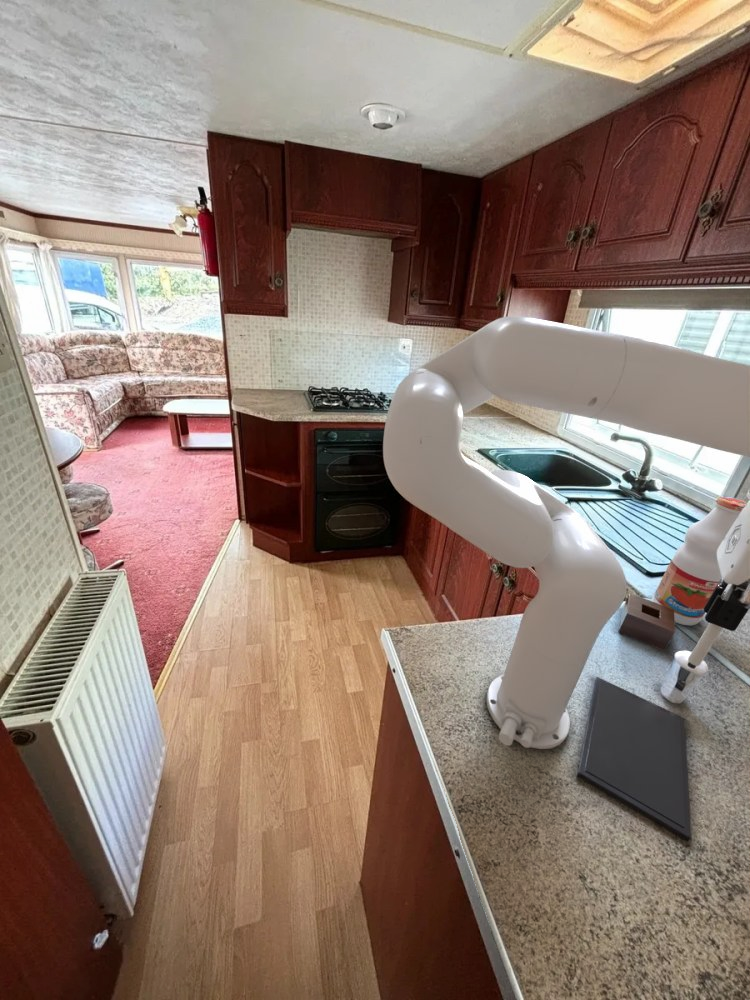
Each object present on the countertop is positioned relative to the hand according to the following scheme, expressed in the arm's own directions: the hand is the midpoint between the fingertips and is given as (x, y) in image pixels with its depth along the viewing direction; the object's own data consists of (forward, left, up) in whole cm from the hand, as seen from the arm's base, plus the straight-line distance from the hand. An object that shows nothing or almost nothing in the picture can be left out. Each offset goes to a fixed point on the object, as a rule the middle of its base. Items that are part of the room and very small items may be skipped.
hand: (718, 619), depth 53 cm
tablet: (-5, +2, -23) cm, 23 cm away
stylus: (0, 0, -9) cm, 9 cm away
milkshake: (+10, -3, -23) cm, 25 cm away
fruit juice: (+38, -4, -23) cm, 45 cm away
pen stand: (+26, +2, -23) cm, 35 cm away
